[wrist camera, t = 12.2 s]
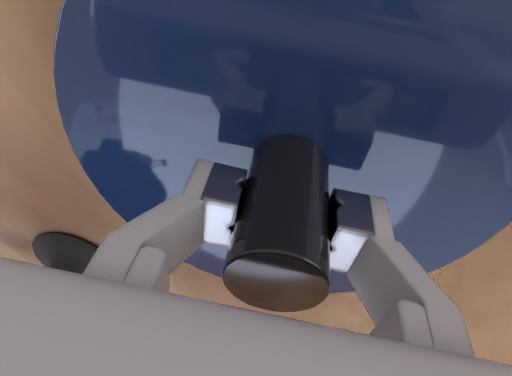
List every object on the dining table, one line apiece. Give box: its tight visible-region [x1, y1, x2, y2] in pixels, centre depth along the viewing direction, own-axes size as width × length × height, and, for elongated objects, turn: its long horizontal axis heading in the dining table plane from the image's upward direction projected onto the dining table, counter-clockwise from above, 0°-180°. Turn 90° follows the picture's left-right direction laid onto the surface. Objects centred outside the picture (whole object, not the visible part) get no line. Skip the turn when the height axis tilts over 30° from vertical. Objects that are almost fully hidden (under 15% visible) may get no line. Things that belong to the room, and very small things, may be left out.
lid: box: [54, 0, 512, 312], centre depth 10 cm, size 16×16×6 cm
